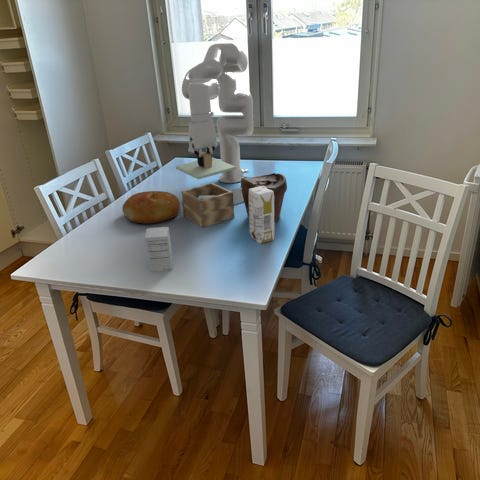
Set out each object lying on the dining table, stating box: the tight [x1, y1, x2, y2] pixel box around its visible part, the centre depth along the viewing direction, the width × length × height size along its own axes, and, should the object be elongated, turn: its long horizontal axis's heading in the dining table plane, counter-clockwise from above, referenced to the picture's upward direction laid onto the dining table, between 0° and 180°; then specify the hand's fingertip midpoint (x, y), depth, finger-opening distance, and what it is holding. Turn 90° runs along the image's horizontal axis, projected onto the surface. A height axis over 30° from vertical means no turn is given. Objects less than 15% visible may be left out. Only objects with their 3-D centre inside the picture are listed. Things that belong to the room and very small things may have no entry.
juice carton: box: [248, 186, 275, 245], centre depth 158 cm, size 8×9×19 cm
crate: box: [180, 182, 235, 229], centre depth 180 cm, size 15×15×11 cm
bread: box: [121, 190, 181, 225], centre depth 184 cm, size 23×23×10 cm
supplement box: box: [144, 226, 174, 273], centre depth 144 cm, size 7×7×13 cm
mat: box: [229, 187, 245, 206], centre depth 201 cm, size 16×16×1 cm
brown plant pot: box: [239, 173, 288, 223], centre depth 175 cm, size 18×20×18 cm
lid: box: [175, 151, 236, 180], centre depth 172 cm, size 17×17×6 cm
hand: (205, 164), depth 173 cm, fingers closed on lid, 3 cm apart
